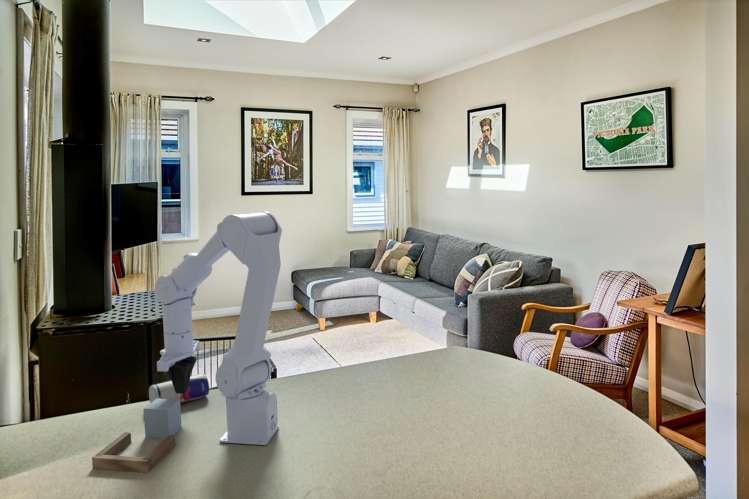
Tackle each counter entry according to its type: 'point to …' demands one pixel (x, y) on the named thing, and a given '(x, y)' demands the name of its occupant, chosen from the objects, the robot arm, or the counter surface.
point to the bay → (125, 463)
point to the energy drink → (167, 391)
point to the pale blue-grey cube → (162, 418)
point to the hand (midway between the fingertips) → (181, 392)
